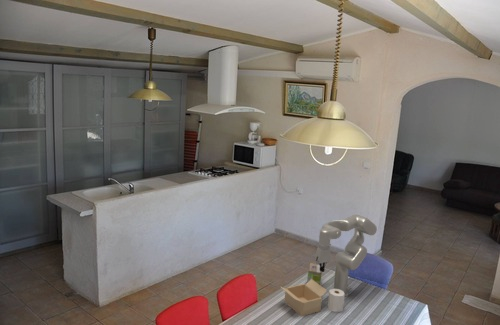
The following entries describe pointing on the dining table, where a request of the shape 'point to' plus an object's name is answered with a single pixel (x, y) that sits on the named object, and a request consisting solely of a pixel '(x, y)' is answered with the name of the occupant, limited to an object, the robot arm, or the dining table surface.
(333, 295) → the toilet paper
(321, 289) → the flap
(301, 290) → the carton
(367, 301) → the dining table surface
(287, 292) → the flap
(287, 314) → the dining table surface
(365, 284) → the dining table surface
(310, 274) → the tea box
